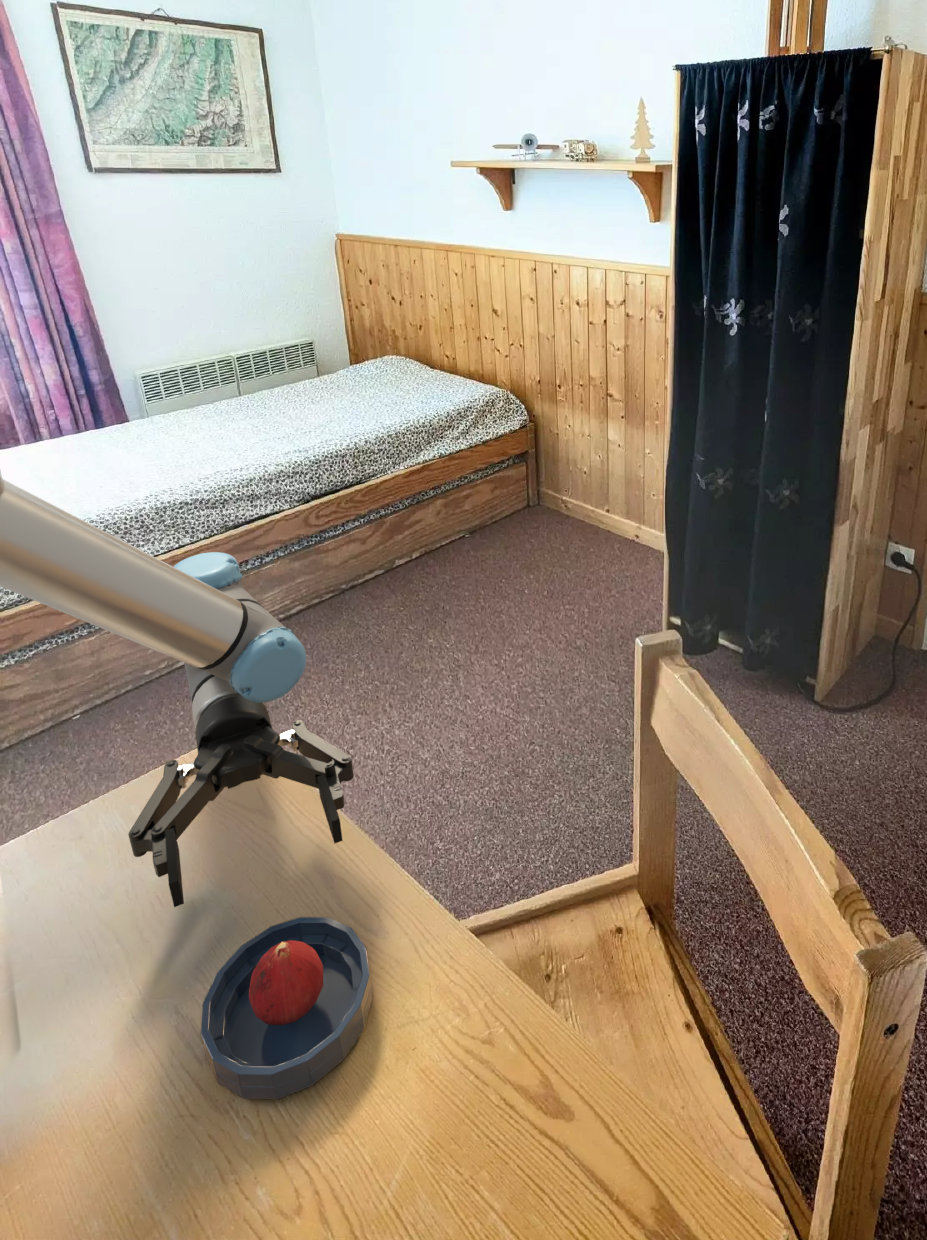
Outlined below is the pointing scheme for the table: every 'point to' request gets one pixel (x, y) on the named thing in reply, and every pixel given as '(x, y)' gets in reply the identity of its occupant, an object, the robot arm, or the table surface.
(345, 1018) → the bowl
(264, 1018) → the red oval fruit
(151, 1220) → the table surface
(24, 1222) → the table surface
